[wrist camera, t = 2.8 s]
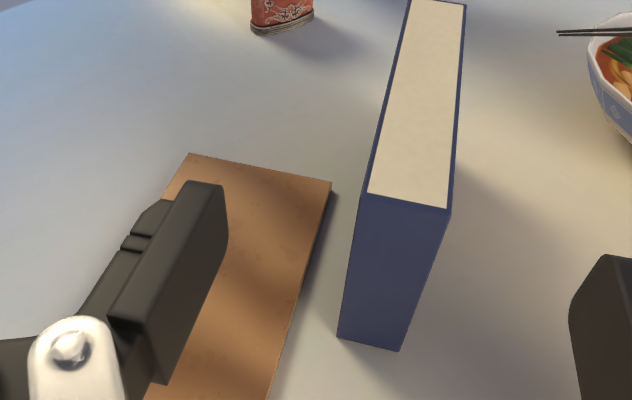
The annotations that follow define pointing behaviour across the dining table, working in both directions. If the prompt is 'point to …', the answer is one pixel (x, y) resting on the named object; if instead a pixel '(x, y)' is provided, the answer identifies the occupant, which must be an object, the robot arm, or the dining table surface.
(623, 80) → the ramen bowl
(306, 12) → the lighter
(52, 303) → the dining table surface
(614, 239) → the dining table surface
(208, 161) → the cork mat
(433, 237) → the book
